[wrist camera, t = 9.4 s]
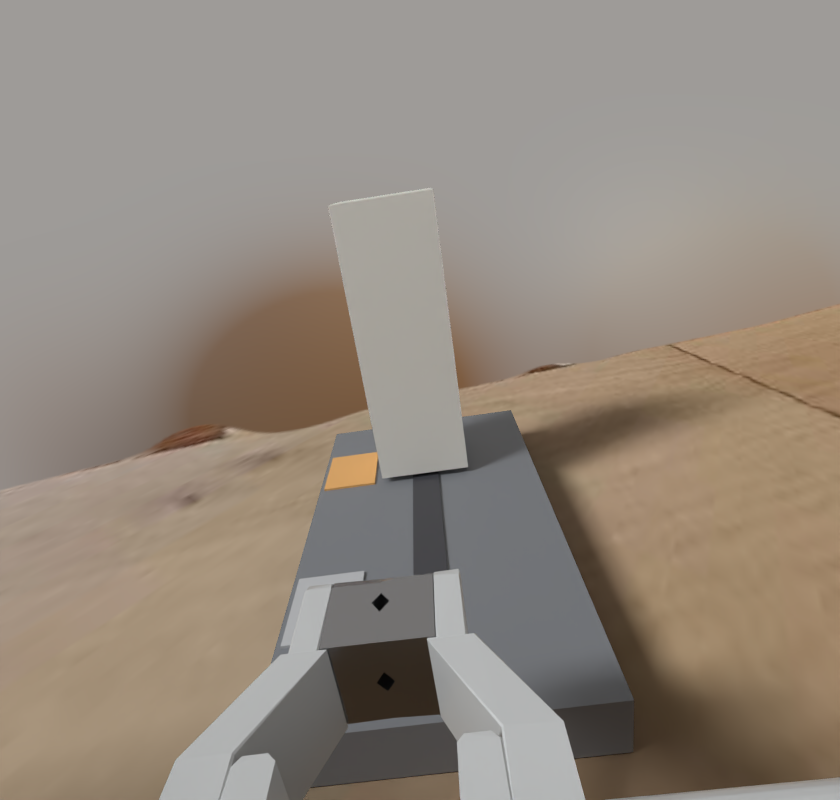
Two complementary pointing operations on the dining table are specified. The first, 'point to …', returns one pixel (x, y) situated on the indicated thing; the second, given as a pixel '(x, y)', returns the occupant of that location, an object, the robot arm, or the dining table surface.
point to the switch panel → (466, 590)
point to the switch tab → (402, 329)
